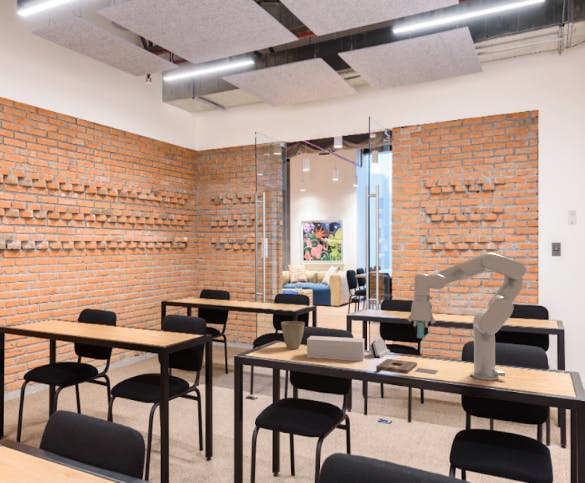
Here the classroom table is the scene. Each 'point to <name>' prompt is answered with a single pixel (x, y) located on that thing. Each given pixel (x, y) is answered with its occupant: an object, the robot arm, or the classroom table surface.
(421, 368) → the plate
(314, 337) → the long grey foam brick
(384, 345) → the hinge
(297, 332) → the plant pot
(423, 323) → the peg
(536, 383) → the classroom table surface
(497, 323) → the robot arm
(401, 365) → the hole board
